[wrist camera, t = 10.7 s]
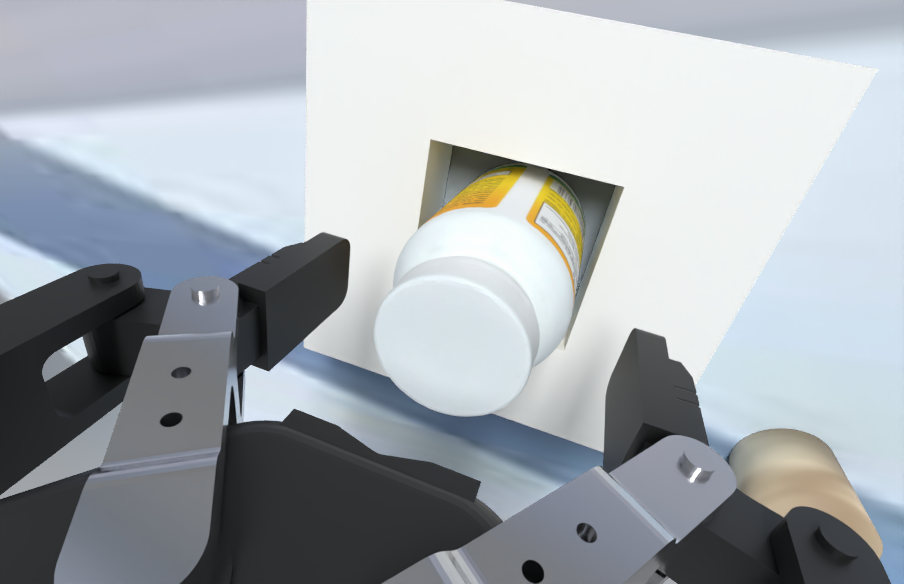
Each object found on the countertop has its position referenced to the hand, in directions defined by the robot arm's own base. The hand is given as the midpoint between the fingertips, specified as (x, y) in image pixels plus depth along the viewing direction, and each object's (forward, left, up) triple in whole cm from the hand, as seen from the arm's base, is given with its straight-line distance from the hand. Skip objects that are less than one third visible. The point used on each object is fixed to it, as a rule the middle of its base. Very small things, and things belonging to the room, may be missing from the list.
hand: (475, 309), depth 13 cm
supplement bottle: (0, 0, -8) cm, 8 cm away
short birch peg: (-14, +8, -8) cm, 18 cm away
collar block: (0, 0, -8) cm, 8 cm away
